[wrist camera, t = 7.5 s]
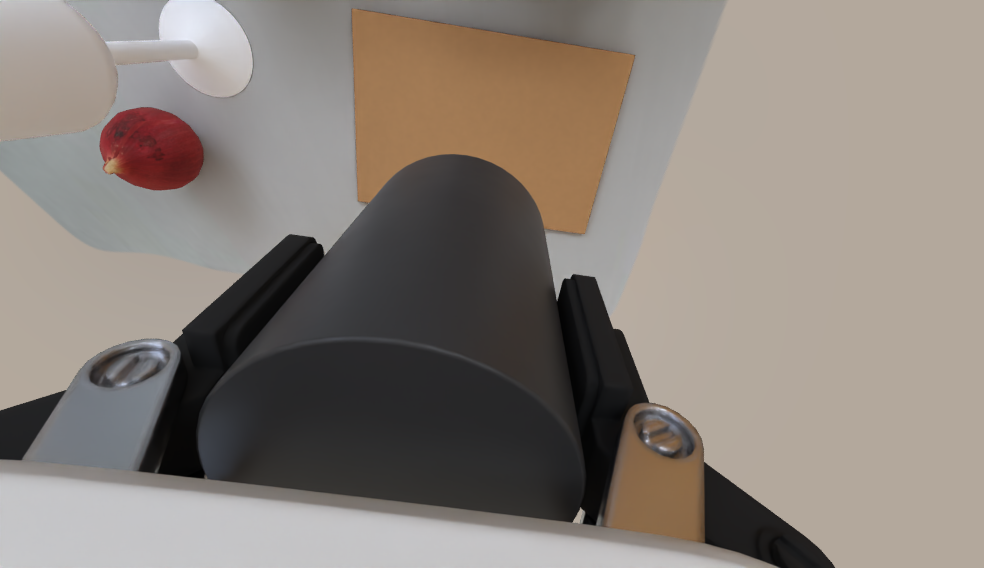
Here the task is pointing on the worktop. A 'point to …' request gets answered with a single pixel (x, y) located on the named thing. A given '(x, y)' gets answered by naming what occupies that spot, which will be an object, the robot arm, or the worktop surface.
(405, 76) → the mat
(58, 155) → the worktop surface
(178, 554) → the robot arm
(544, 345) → the dark grey cylinder
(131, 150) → the onion
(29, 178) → the worktop surface
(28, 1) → the champagne flute
